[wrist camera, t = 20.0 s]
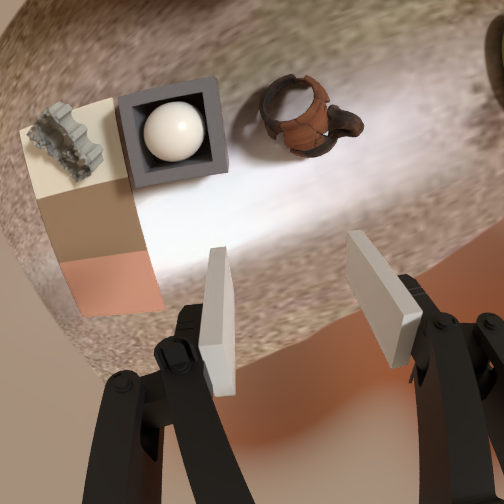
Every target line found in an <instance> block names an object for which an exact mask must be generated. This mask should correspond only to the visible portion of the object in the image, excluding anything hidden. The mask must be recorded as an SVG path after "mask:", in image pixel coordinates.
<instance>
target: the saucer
mask: <svg viewBox="0 0 504 504" xmlns="http://www.w3.org/2000/svg"><path fill="white" fill-rule="evenodd" d="M502 61H503V67H504V32H503V37H502Z"/></svg>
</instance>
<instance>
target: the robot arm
mask: <svg viewBox="0 0 504 504" xmlns="http://www.w3.org/2000/svg"><path fill="white" fill-rule="evenodd" d="M346 279H347V281H348V283H349V285H350V287H351V289H352V291H353V293H354V295H355V297H356V299H357V301H358V302H359V304H360V306H361V308H362V310H363V312H364V314H365V316H366V318H367V320H368V322H369V324H370V326H371V328H372V330H373V332H374V335H375V336H376V339H377V341H378V343H379V345H380V347H381V349H382V351H383V353H384V355H385V357H386V360H387V362H388V364H389V366H390V368H391V369H393V368H397V367H401V366H405V365H408V363H409V359H410V356H411V355H412V357H413V359H414V360H415V365H414V367H413V370H412V373H411V376H410V379H409V383H412V380H413V378H414V383H415V393H416V404H417V416H418V434H419V460H420V461H419V464H420V485H419V488H420V489H419V504H504V500H502V499H500V498H498V497H497V496H496V494H495V485H494V474H493V466H492V459H491V450H490V444H489V438H490V441H491V443H492V446H493V448H494V451H495V453H496V455H497V458H498V460H499V463H500V466H501V469H502V471H503V474H504V321H503V320H502V319H501V318H500V317H499V316H497V315H496V314H493V313H482V314H480V315H479V316H478V318H477V320H476V323H459V322H458V320H457V319H456V318H455V317H454V316H452V315H450V314H448V313H443V312H440V311H439V309H438V308H437V307H436V305H435V304H434V303H433V301H432V300H431V299H430V298H429V296H428V295H427V294H426V293H425V291H424V290H423V288H421V286H420V285H419V284H418V282H417V281H416V279H414V278H412V277H411V276H409V275H408V274H403V275H396V274H395V272H394V271H393V270H392V268H391V267H390V266H389V264H388V263H387V262H386V260H385V259H384V258H383V257H382V255H381V254H380V253H379V251H378V250H377V249H376V248H375V246H374V245H373V244H372V243H371V241H370V240H369V239H368V238H367V236H366V235H365V234H364V233H363V231H362V230H355V231H347V256H346ZM154 357H155V359H156V361H157V363H158V365H159V368H160V370H158V371H157V372H154V373H151V374H148V375H145V376H141V377H139V376H138V374H137V373H135V372H133V371H130V370H123V371H119V372H117V373H115V374H113V375H112V376H111V377H110V378H109V379H108V381H107V383H106V385H105V389H104V393H103V397H102V401H101V405H100V409H99V414H98V418H97V423H96V427H95V432H94V437H93V442H92V447H91V452H90V457H89V463H88V468H87V475H86V480H85V487H84V493H83V500H82V504H161V494H162V493H161V492H162V463H163V444H164V427H165V426H167V425H171V424H173V425H174V429H175V433H176V437H177V440H178V444H179V448H180V452H181V455H182V459H183V462H184V466H185V469H186V472H187V476H188V479H189V482H190V486H191V489H192V492H193V495H194V498H195V501H196V504H255V502H254V500H253V498H252V495H251V493H250V491H249V489H248V487H247V484H246V482H245V480H244V477H243V475H242V473H241V470H240V468H239V466H238V463H237V461H236V458H235V456H234V454H233V451H232V449H231V446H230V444H229V441H228V439H227V436H226V434H225V431H224V429H223V426H222V424H221V421H220V418H219V416H218V413H217V411H216V408H215V405H214V402H213V399H212V397H213V392H214V394H215V396H229V395H235V393H236V391H235V328H234V289H233V284H232V278H231V273H230V267H229V261H228V256H227V250H226V247H219V248H211V249H210V255H209V262H208V270H207V278H206V286H205V294H204V302H203V304H193V305H185V306H184V307H183V309H182V310H181V311H180V313H179V315H178V320H177V325H176V331H175V334H174V336H170V337H168V338H165V339H163V340H162V341H161V342H159V343H158V344H157V346H156V347H155V349H154ZM490 361H491V363H492V364H493V366H494V368H492V367H491V366H490V364H489V363H490ZM488 436H489V438H488Z"/></svg>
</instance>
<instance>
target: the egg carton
mask: <svg viewBox="0 0 504 504" xmlns="http://www.w3.org/2000/svg"><path fill="white" fill-rule="evenodd" d="M71 112H72V107H71V106H70V105H69V104H63V103H61V102H57V103H55V104H54V105H53V106H51V107H50V108H47V109H46V110H45V111H44V112H43V114H41V116H40V117H39V118H38V120H37V121H36V122H35V124H34V125H33V126H32V127H31V129H30V130H29V131H28V133H27V134H26V135H27V136H28V137H29V138H30V141H31V142H33V143H34V145H35V146H36V147H38V148H39V149H42V148H44V149H45V151H46V152H47V154H48V155H49V156H52V157H53V158H54V159H55V160H56V161H57V163H58V165H59V166H61V167H62V168H63V169H64V170H66V171H68V173H69V174H72V178H73V180H74V181H75V182H76V183H77V182H80V181H81V180H83V179H85V178H87V177H89V176H91V172H93V171H94V170H95V169H96V168H97V167H98V166H99V165H100V164H101V163H102V162H103V161H104V159H103V156H102V151H103V148H102V147H101V146H100V144H95V143H92V142H91V141H90V140H89V138H88V137H87V130H88V129H87V127H86V126H85V124H79V123H77V122H76V121H75V120H74V119H73V117H72V114H71ZM79 159H83V160H84V164H85V165H84V166H80V167H79V166H78V165H77V163H76V162H77V161H78V160H79Z"/></svg>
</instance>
